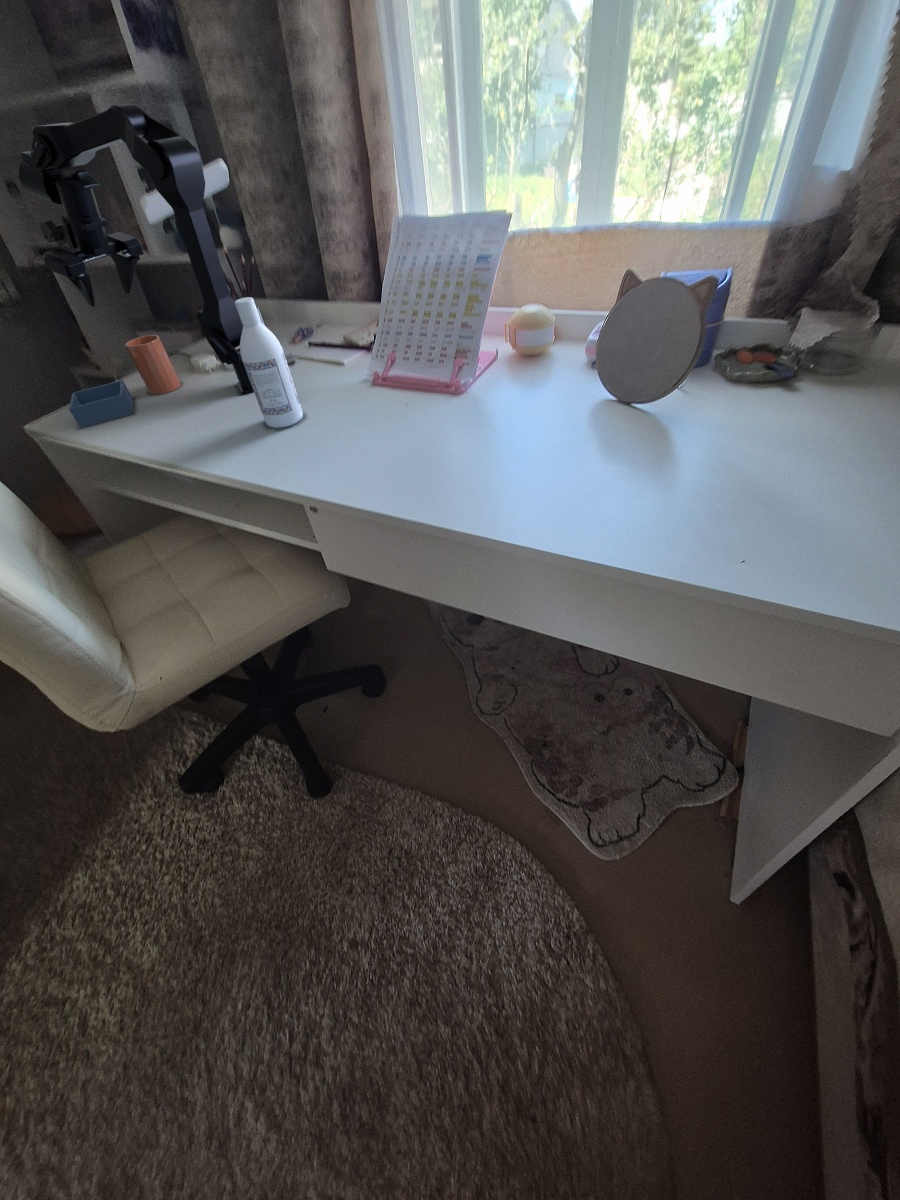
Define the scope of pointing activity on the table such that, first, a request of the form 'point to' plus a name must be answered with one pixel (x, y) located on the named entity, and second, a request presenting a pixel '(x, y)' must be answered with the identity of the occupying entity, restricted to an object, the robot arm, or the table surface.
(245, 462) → the table surface
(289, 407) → the bath foam
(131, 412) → the tub
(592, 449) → the table surface
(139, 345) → the cup
